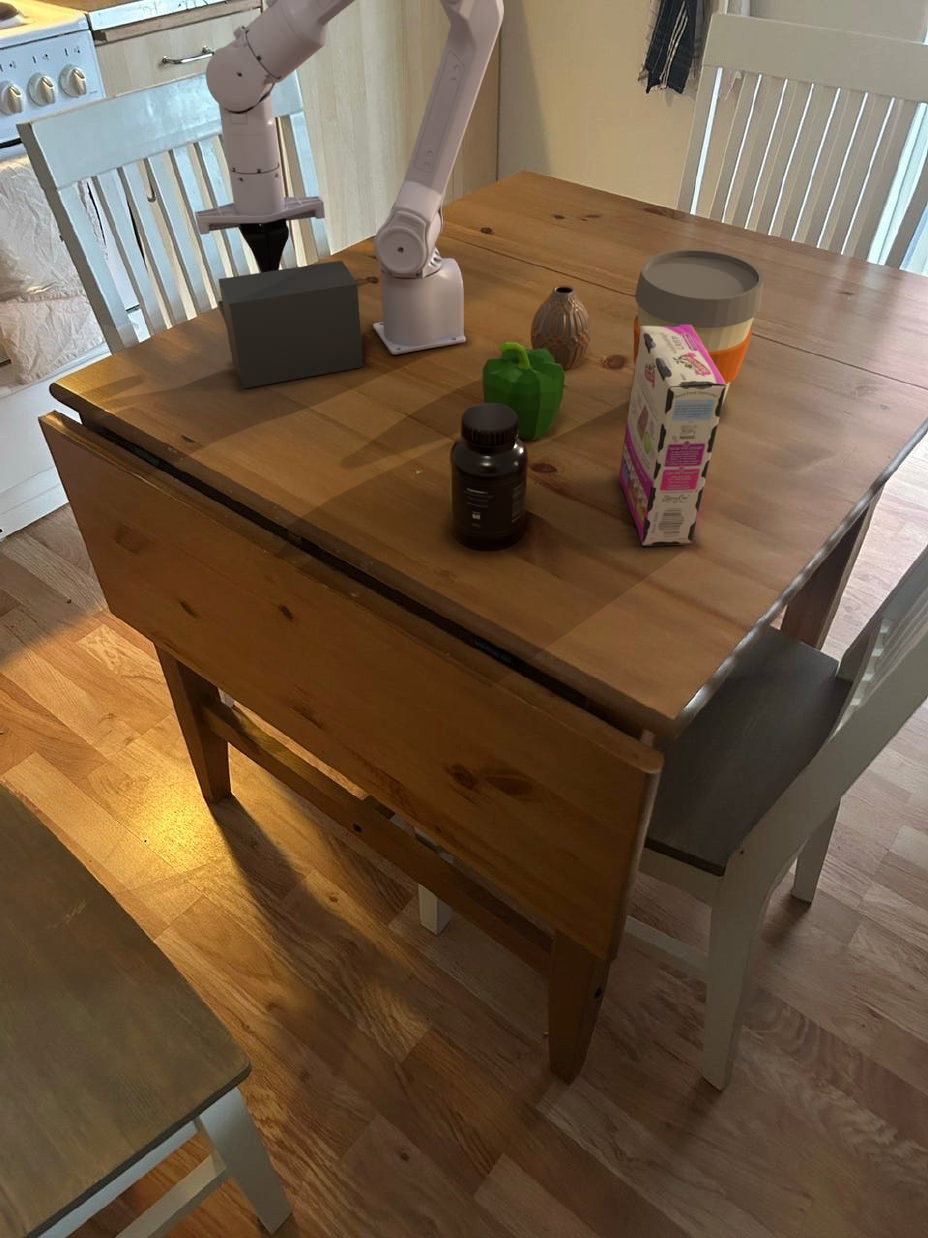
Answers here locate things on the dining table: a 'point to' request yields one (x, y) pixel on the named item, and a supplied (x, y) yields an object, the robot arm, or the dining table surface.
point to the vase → (562, 327)
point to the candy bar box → (669, 433)
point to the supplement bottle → (488, 478)
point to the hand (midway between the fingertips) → (270, 284)
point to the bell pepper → (525, 387)
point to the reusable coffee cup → (702, 301)
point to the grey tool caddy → (292, 323)
